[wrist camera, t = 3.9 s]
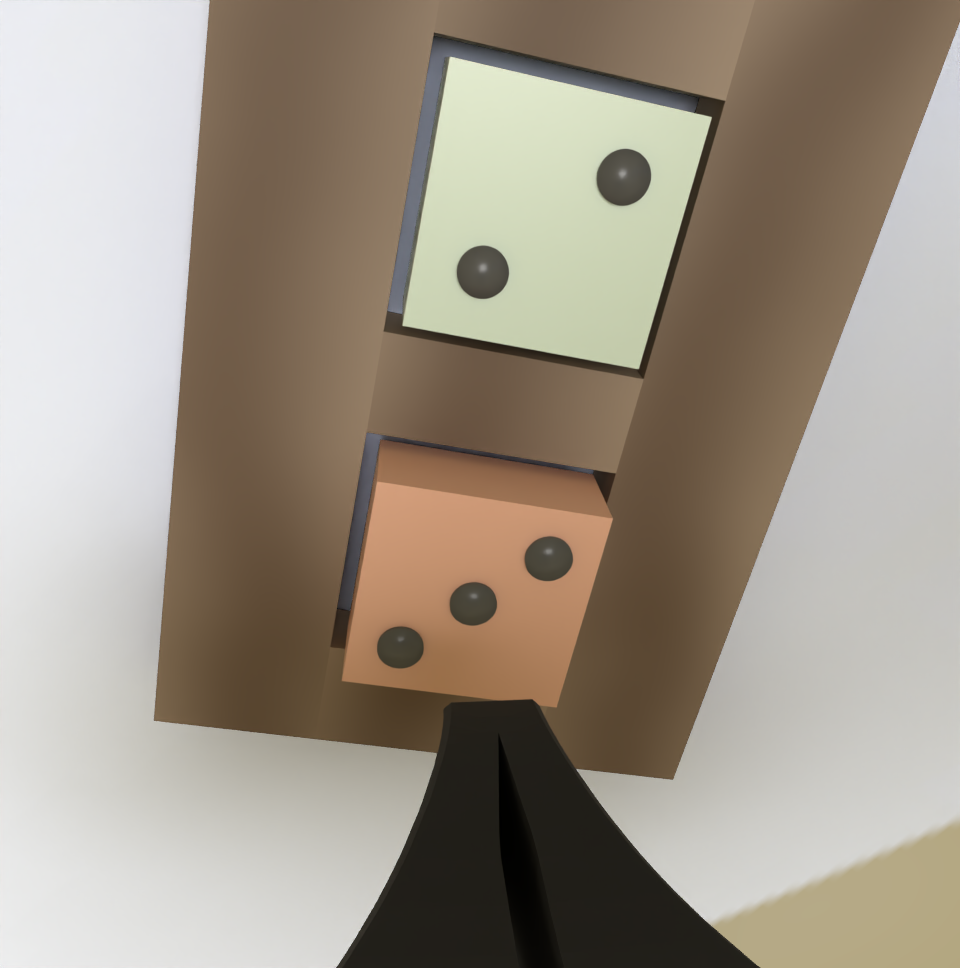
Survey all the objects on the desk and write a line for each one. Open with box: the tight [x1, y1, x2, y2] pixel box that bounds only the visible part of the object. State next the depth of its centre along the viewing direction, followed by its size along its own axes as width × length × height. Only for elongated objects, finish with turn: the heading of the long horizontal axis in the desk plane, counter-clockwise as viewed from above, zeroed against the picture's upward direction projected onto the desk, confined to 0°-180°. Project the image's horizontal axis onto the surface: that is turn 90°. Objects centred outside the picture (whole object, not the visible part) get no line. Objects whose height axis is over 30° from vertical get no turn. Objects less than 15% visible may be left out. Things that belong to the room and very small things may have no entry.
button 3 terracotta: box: [342, 439, 613, 708], centre depth 18 cm, size 4×4×2 cm
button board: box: [154, 0, 960, 780], centre depth 17 cm, size 12×24×2 cm, turn 169°
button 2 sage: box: [402, 57, 712, 369], centre depth 16 cm, size 4×4×2 cm
